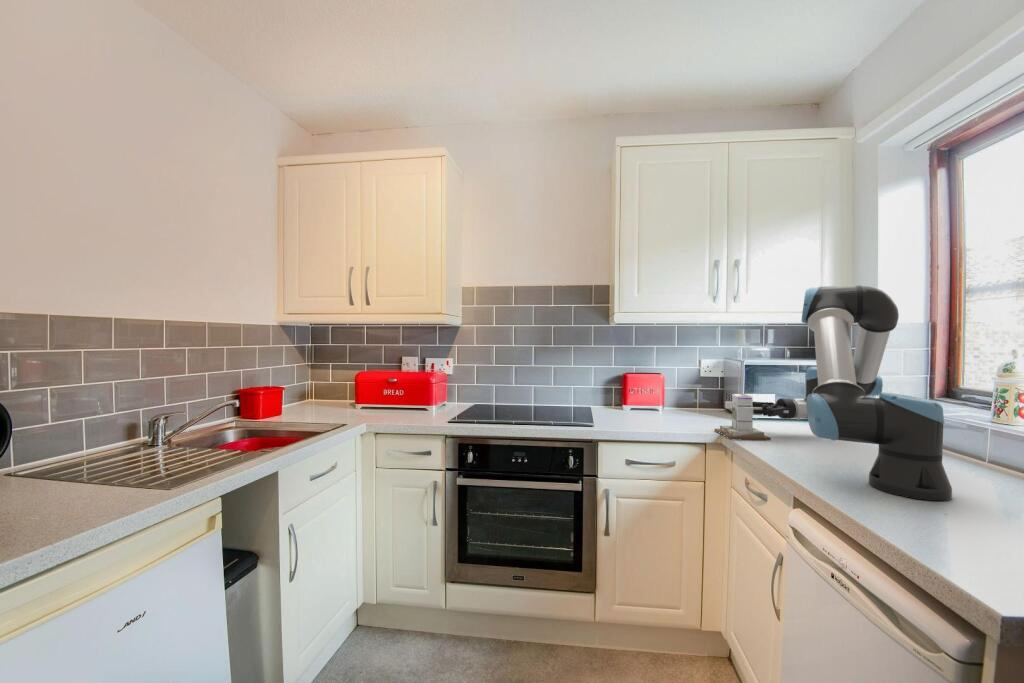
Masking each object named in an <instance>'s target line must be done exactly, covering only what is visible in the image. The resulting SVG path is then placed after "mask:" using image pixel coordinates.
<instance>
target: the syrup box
mask: <svg viewBox="0 0 1024 683" xmlns="http://www.w3.org/2000/svg"><path fill="white" fill-rule="evenodd" d="M731 397H732V398H731V401H732V409H731V426H732V429H733V430H736V431H752V429H753V428H754V427H753V425H754V424H753V419H754V418H753V416H754V415H743V407H753V402H754V401H753V400H754V399H753V397H754V396H752V395H749V394H744V393H732V395H731Z"/></svg>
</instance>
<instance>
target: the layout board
mask: <svg viewBox="0 0 1024 683" xmlns="http://www.w3.org/2000/svg"><path fill="white" fill-rule="evenodd" d="M714 430H715V431H717V432H720V433H722V434H723V435H725V436H726V437H725V436H724V437H725V438H727V437H728V438H727V439H729V440H731V441H733V440H732V439H741V440H740V441H767V440H771V441H772V438H771V437H770V436H767V435H766V434H765V432H764V431H761V430H759V429H756V428H754V427H753V429H752V431H736V430H733V429H732V425H720V426H719V428H714ZM715 431H714V432H715ZM717 432H716V433H717ZM723 435H722V436H723Z"/></svg>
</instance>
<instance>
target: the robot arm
mask: <svg viewBox="0 0 1024 683" xmlns="http://www.w3.org/2000/svg"><path fill="white" fill-rule="evenodd" d="M899 314H900V313H899V309H898V306H897V304H896V302H895V301H894V299H893V298H892V297H891V296H890V295H889V294H888V293H887V292H886V291H884V290H883V289H881V288H879V287H877V286H874V285H868V284H859V285H837V286H836V285H834V286H833V285H828V286H823V285H822V286H821V285H820V286H816V287H809V288H807V289H806V290H805V293H804V300H803V305H802V314H801V323H803V324H807V327H808V328H809V329H810V331H812V332H813V337H814V348H815V359H816V360H815V363H816V366H811V367H807V368H806V372H805V375H806V376H805V398H797V397H796V398H793V397H792V398H782V397H781V398H778V399H777V400H776V402H771V401H769V402H768V401H765V402H764V401H762V402H761V401H753V407H743V415H753V416H765V417H766V416H767V417H768V418H769V417H778V418H780V419H781V420H782V419H784V420H785V419H787V420H788V419H789V420H790V419H793V420H794V419H795V420H797V421H800V420H804V419H805V420H807V421H808V424H809V429H810V431H811V433H812V434H813V435H814V436H815V437H817V438H821V439H827V440H831V441H841V442H842V441H843V442H854V443H860V444H861V443H862V444H864V443H865V444H871V445H872V444H873V445H878V451H877V452H878V454H877V456H876V458H875V461H874V463H873V465H872V467H871V469H870V472H869V474H868V483H869V485H870V486H872V487H874V488H876V489H877V488H878V490H880V491H883V492H886V493H889V492H890V494H892V493H894V494H893V495H896V494H898V495H897V496H900V495H902V496H901V497H905V496H907V497H906V498H910V497H912V498H911V499H915V498H917V499H916V500H922V499H925V500H924V501H932V500H945V501H948V500H947V499H950V498H951V497H953V488H952V485H951V483H950V481H949V478H948V474H947V473H946V470H945V468H944V465H943V453H944V452H943V446H944V424H945V419H944V418H945V417H944V407H943V406H942V405H941V404H940V403H938V402H937V401H934V400H930V399H926V398H922V397H916V396H912V395H907V394H906V395H905V394H898V393H892V392H890V393H889V392H883V387H884V386H883V378H882V376H881V375H878V374H879V370H880V367H881V363H882V360H883V357H884V354H885V350H886V347H887V344H888V340H889V337H890V334H891V332H892V331H893V330H895V329H896V328H897V325H898V323H899V322H898V321H899V316H900V315H899ZM854 324H857V325H858V326H859V331H858V335H857V339H856V344H855V348H854V351H852V350H853V349H852V341H851V336H850V328H851V327H853V325H854ZM870 396H874V397H870ZM724 408H725V409H731V410H732V400H731V401H724ZM951 499H952V498H951ZM951 499H950V500H951Z"/></svg>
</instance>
